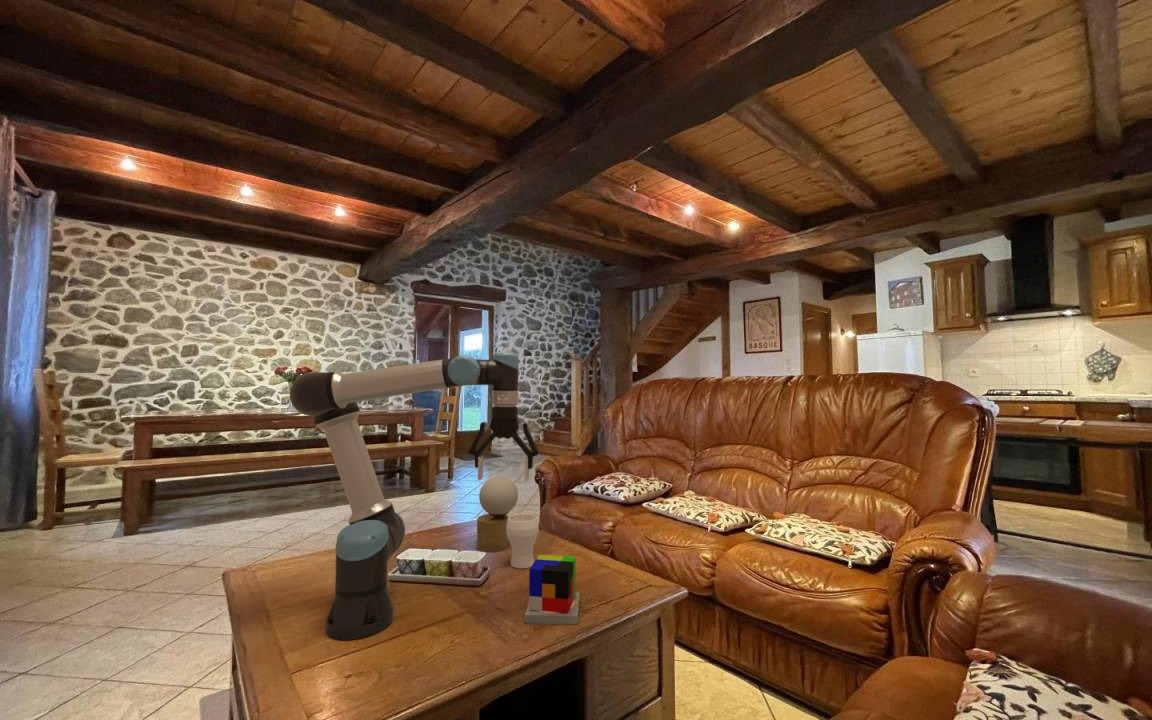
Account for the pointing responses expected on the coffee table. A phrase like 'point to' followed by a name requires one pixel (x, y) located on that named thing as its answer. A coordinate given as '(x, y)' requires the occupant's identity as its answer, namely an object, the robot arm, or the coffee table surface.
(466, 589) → the coffee table surface
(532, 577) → the puzzle toy
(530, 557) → the cup
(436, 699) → the coffee table surface
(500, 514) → the lamp
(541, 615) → the plinth
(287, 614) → the coffee table surface
